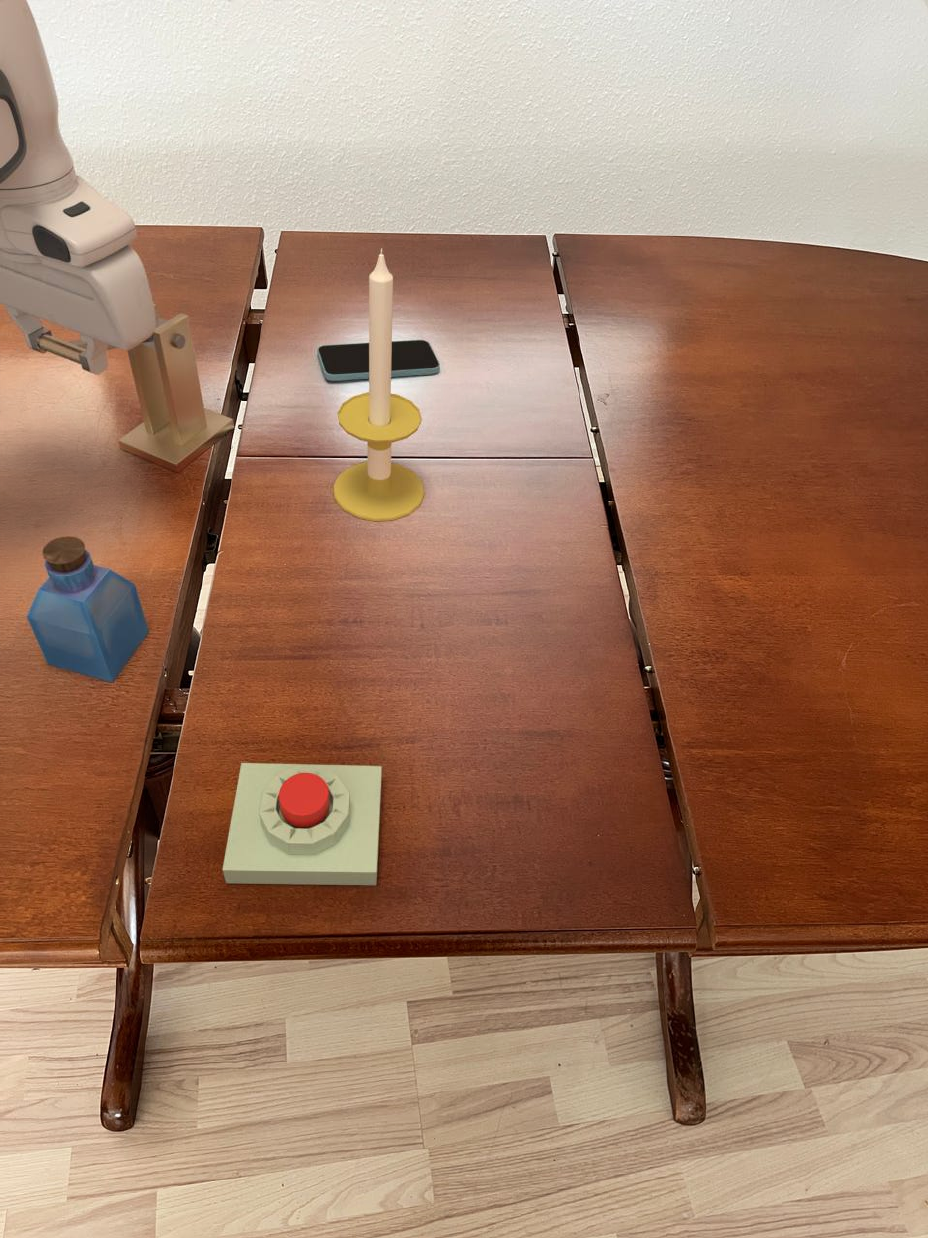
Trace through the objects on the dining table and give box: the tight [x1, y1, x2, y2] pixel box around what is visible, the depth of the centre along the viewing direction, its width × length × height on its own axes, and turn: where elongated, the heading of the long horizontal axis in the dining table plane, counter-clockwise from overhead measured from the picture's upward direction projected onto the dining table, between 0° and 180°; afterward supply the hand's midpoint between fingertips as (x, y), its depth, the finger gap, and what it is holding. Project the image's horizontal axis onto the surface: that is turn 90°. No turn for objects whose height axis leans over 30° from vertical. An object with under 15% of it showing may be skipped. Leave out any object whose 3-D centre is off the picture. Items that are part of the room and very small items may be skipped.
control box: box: [222, 762, 383, 886], centre depth 65 cm, size 11×9×4 cm
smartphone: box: [316, 339, 441, 382], centre depth 111 cm, size 7×1×15 cm
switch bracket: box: [117, 302, 235, 474], centre depth 92 cm, size 10×8×15 cm
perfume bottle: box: [26, 535, 150, 683], centre depth 72 cm, size 6×6×12 cm
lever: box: [39, 317, 168, 366], centre depth 83 cm, size 14×5×2 cm, turn 154°
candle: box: [332, 247, 426, 522], centre depth 84 cm, size 10×10×27 cm
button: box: [279, 773, 330, 827], centre depth 63 cm, size 4×4×2 cm
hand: (69, 359), depth 79 cm, fingers closed on lever, 5 cm apart
